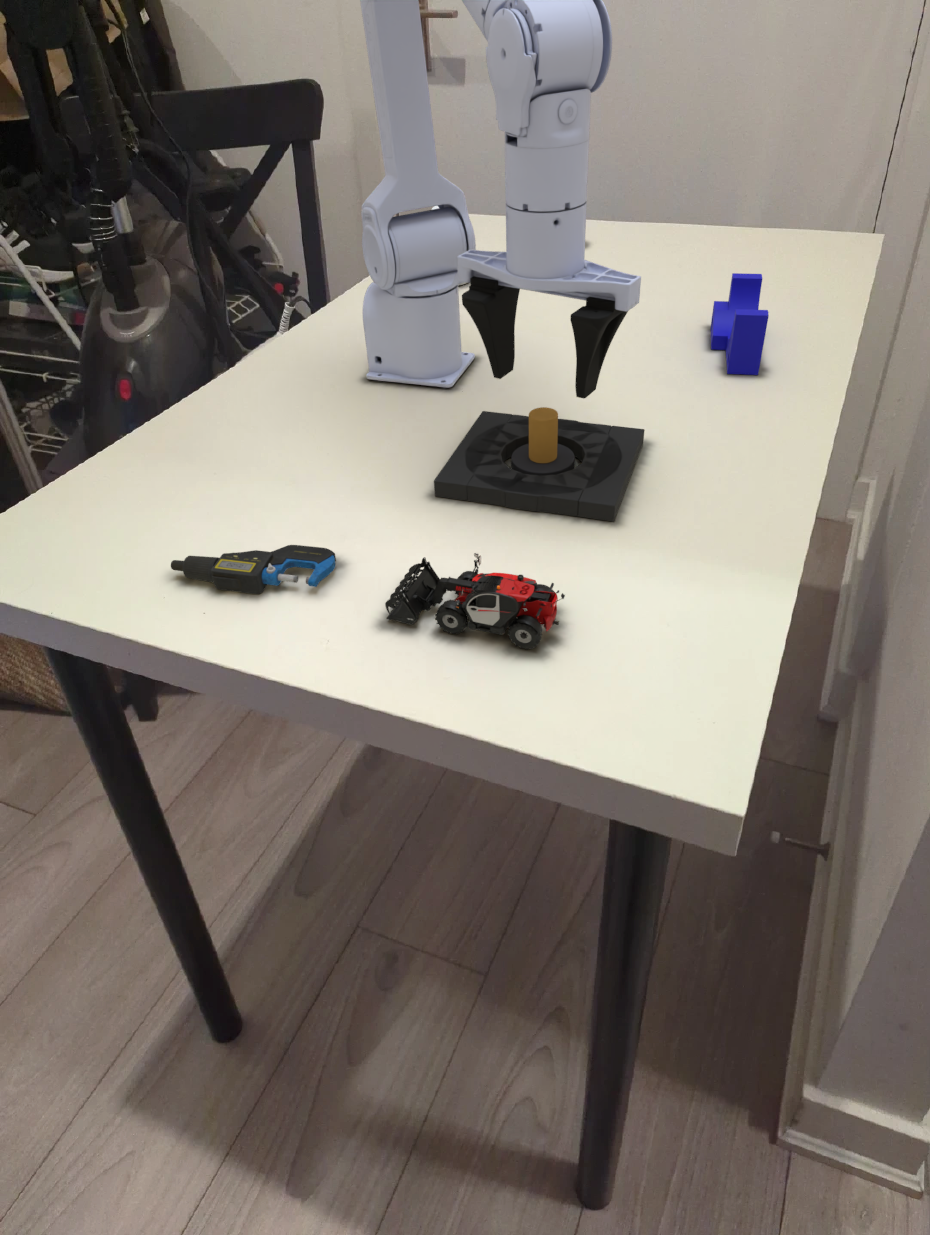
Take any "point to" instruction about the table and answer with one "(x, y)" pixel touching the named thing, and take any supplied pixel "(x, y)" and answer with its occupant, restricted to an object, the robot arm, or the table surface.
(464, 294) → the robot arm
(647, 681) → the table surface
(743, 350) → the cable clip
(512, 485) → the socket pad
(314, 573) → the micrometer
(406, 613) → the loader
